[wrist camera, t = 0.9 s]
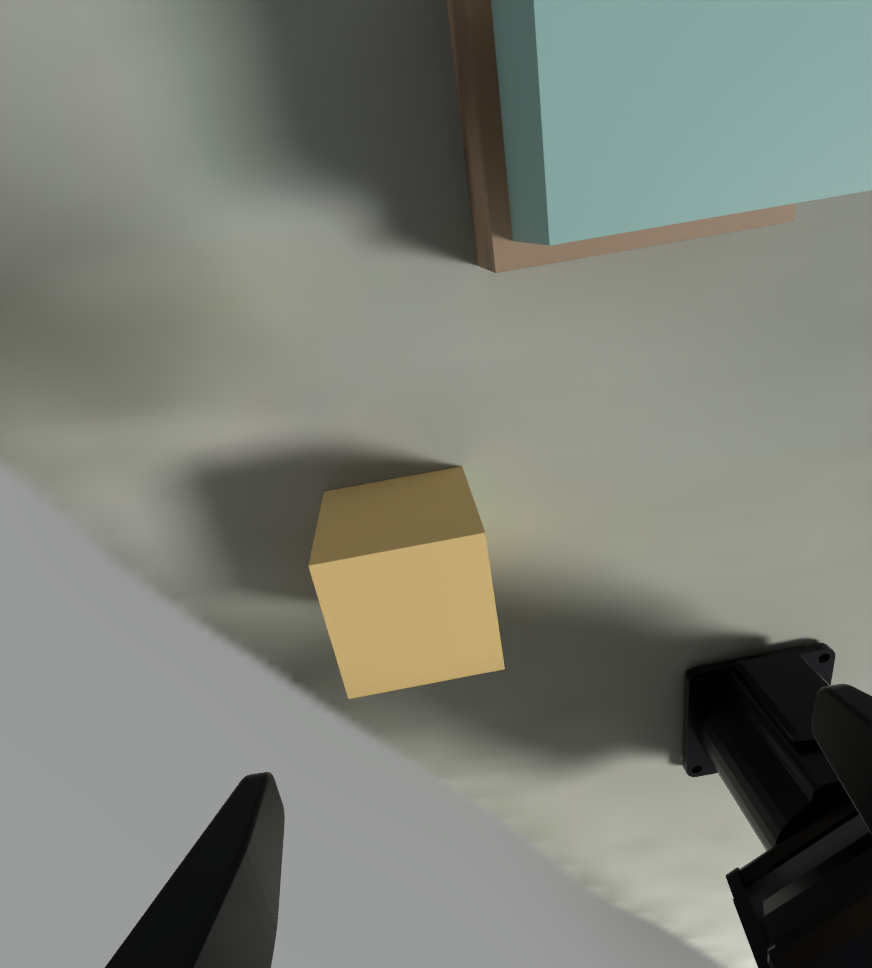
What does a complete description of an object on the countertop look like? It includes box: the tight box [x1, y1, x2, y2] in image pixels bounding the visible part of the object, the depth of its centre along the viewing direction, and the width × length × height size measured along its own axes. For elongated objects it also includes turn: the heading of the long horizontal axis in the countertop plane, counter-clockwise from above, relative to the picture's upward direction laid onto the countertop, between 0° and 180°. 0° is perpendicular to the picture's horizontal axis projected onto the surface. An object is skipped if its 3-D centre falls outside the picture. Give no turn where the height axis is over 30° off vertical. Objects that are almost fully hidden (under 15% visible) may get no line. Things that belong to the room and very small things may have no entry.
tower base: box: [447, 0, 796, 273], centre depth 15 cm, size 8×8×4 cm
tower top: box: [491, 0, 872, 246], centre depth 12 cm, size 7×7×4 cm
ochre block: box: [308, 466, 505, 699], centre depth 19 cm, size 5×5×5 cm
